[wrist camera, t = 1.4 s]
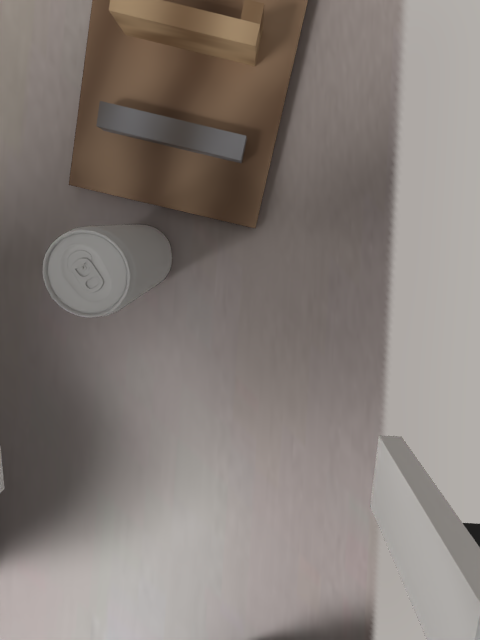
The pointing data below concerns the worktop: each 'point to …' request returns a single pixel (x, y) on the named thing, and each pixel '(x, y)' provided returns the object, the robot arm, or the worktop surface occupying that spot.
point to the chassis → (185, 101)
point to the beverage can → (105, 267)
